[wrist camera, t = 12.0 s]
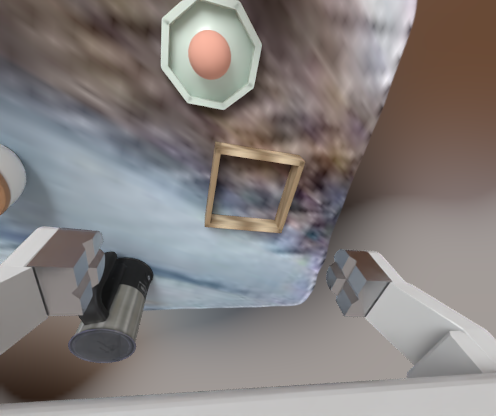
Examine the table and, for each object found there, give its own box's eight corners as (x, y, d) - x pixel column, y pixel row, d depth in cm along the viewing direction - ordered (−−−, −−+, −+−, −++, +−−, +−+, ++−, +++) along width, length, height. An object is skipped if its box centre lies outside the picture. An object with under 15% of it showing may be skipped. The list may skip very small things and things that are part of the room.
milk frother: (162, 279, 51) (148, 351, 38) (99, 306, 53) (65, 384, 40) (116, 231, 43) (79, 301, 31) (44, 265, 45) (-20, 345, 32)
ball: (189, 73, 32) (183, 76, 27) (193, 26, 29) (186, 21, 25) (227, 82, 33) (227, 85, 28) (234, 37, 30) (234, 34, 26)
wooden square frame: (204, 217, 44) (204, 226, 42) (215, 141, 37) (215, 147, 35) (277, 223, 47) (281, 233, 45) (299, 155, 40) (305, 161, 38)
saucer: (161, 96, 33) (159, 98, 31) (164, -19, 27) (161, -24, 26) (247, 112, 36) (248, 115, 34) (266, 11, 30) (269, 9, 28)
